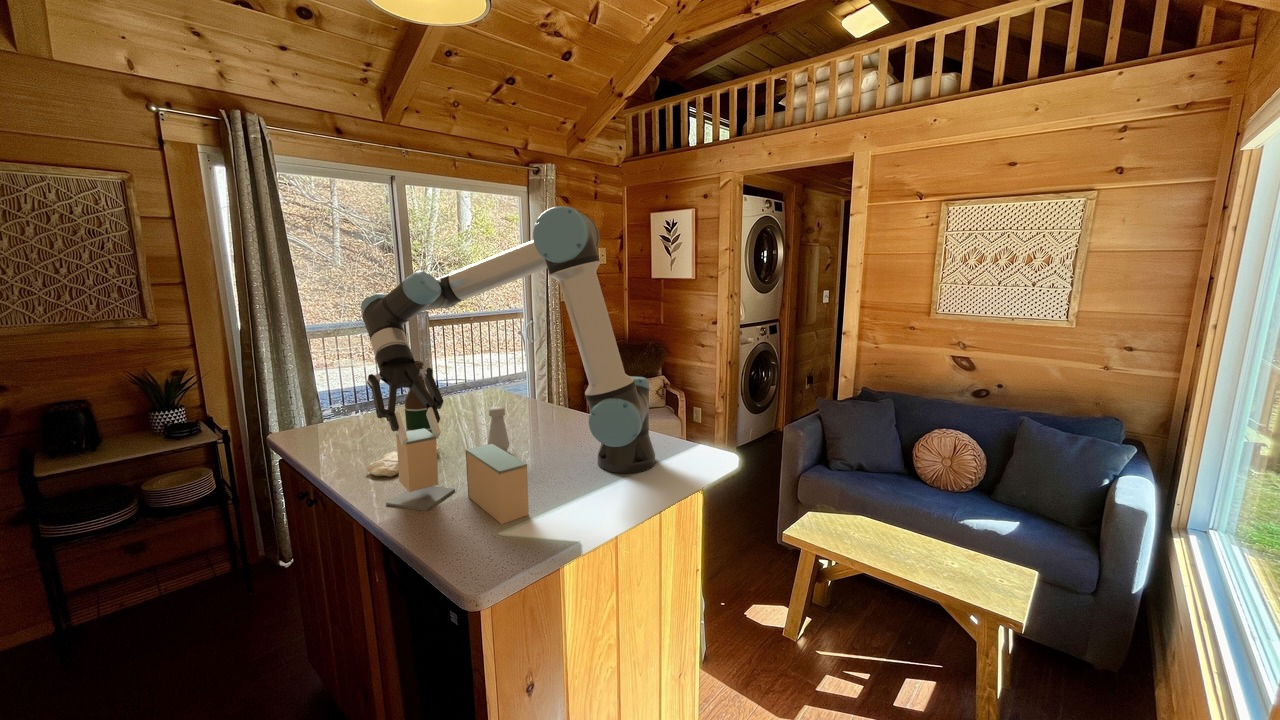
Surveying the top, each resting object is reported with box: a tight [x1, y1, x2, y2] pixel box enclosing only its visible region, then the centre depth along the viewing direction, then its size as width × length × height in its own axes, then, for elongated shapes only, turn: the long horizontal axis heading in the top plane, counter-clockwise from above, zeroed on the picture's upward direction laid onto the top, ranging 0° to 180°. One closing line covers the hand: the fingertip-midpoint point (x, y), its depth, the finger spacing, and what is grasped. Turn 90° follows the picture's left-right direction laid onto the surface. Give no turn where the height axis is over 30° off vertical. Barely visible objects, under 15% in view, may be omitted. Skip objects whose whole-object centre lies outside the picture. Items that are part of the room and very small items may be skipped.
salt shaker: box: [487, 405, 510, 453], centre depth 140 cm, size 6×6×13 cm
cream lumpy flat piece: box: [366, 445, 440, 478], centre depth 132 cm, size 4×13×20 cm
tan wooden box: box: [465, 443, 530, 525], centre depth 109 cm, size 16×6×11 cm, turn 41°
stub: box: [395, 428, 439, 492], centre depth 111 cm, size 7×6×11 cm
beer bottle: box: [404, 360, 433, 434], centre depth 147 cm, size 8×8×24 cm
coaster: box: [385, 485, 456, 512], centre depth 113 cm, size 10×10×1 cm
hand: (421, 438), depth 108 cm, fingers closed on stub, 6 cm apart
